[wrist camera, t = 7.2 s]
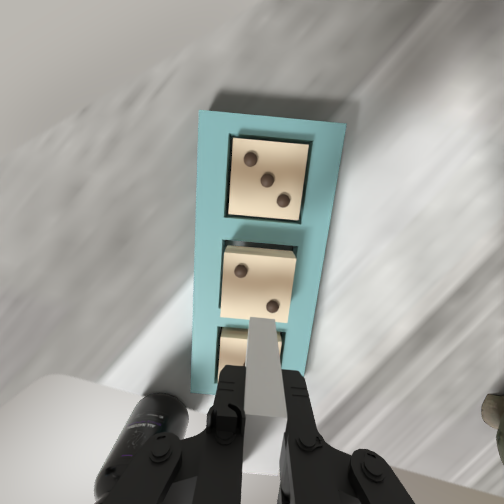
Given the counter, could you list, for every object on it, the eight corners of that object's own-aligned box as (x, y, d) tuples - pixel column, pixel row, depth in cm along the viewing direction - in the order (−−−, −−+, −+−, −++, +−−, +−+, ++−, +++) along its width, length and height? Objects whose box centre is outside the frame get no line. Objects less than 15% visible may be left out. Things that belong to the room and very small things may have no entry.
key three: (294, 216, 24) (298, 220, 22) (231, 210, 24) (228, 214, 21) (303, 149, 23) (309, 144, 20) (235, 142, 22) (232, 137, 20)
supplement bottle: (160, 380, 31) (102, 501, 19) (201, 414, 32) (169, 547, 20) (124, 411, 32) (48, 541, 20) (164, 442, 33) (115, 582, 22)
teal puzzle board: (295, 384, 30) (299, 401, 28) (195, 375, 30) (190, 392, 28) (337, 129, 23) (346, 123, 21) (204, 117, 23) (198, 109, 20)
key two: (284, 309, 25) (287, 324, 22) (223, 304, 25) (219, 318, 22) (292, 250, 23) (296, 259, 21) (227, 245, 23) (223, 252, 21)
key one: (273, 374, 29) (275, 393, 26) (220, 370, 29) (217, 388, 26) (279, 328, 27) (282, 343, 25) (223, 323, 27) (220, 338, 25)
